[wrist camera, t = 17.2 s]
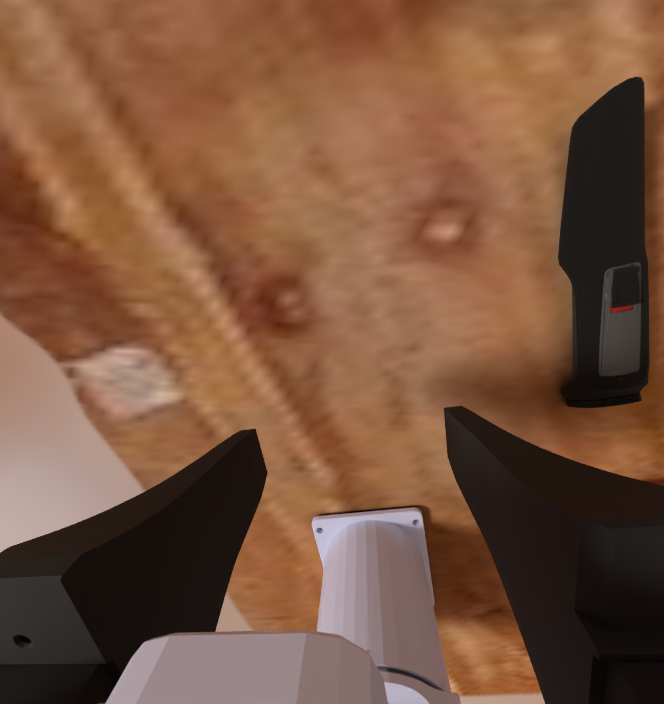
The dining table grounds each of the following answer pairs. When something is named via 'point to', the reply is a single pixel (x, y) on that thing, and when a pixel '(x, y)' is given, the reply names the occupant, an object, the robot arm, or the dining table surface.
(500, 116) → the dining table surface
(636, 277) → the electric trimmer
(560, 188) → the dining table surface
